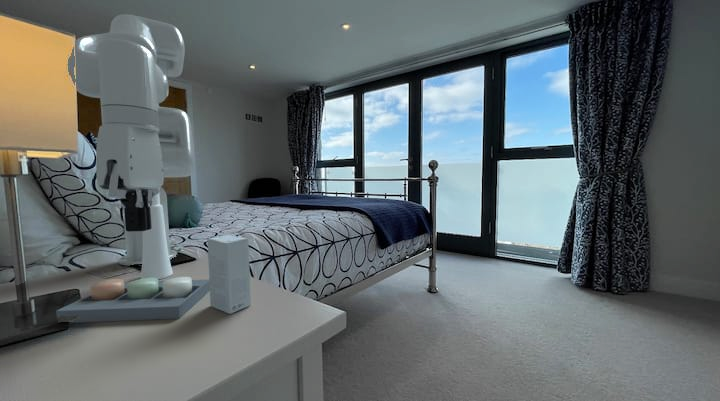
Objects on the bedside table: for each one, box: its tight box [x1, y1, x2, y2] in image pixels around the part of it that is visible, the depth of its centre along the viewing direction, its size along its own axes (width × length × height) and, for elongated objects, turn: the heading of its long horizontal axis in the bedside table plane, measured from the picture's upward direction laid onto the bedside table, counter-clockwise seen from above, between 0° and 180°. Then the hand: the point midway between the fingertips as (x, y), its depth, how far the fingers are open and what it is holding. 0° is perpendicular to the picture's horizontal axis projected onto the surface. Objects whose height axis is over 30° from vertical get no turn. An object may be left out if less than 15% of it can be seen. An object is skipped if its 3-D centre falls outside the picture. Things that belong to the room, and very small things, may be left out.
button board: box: [55, 279, 210, 324], centre depth 52 cm, size 12×18×2 cm, turn 95°
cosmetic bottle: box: [139, 188, 174, 281], centre depth 65 cm, size 6×6×22 cm
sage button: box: [127, 278, 159, 300], centre depth 52 cm, size 4×4×2 cm
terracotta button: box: [89, 278, 125, 301], centre depth 51 cm, size 4×4×2 cm
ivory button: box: [162, 276, 193, 299], centre depth 52 cm, size 4×4×2 cm
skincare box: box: [207, 234, 252, 315], centre depth 51 cm, size 6×4×12 cm
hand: (139, 230), depth 50 cm, fingers closed
